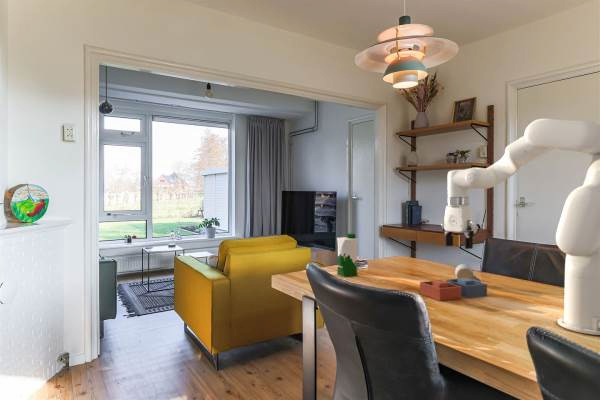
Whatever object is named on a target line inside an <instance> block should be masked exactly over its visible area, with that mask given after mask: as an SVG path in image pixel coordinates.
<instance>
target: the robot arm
mask: <svg viewBox="0 0 600 400" xmlns="http://www.w3.org/2000/svg"><path fill="white" fill-rule="evenodd" d="M523 134H524V135H522V136H521V137H519V138H517V139H516V140H515V141H512V142H511V143H510V144H508V145H506V146H505V148H504V153H503V156H502V157H501V158H500V159H499V160H497V161H496V162H495V163H493V164H491V165H490V166H488V167H486V168H483V167H470V168H465V169H452V170H449V171H448V172H447V200H446V202H447V205H446V207H445V211H444V219H443V220H444V222H442V223H441V224H440V227H441V229H442V232H443V235H444V236H445V247H453V246H454V235H453V234H454V233H463V235H464V236H465V237H464V249H465V250H472V249H473V247H474V243H473V241H474V240H473V239H474V238H475V236H476V234H477V231H478V229H479V226H478V225H476V224H475V223H474V222H473V215H472V209H471V205H470V189H477V190H479V189H483V190H486V189H491V188H494V187H496V186H497V185H499V184H501V183H503V182H505V181H506V180H508V179H510V178H511V177H513V176H514V175H515V174H516V173H517V172H518V171H520V170H521V169H522V168H523V167H525V166H527V165H528V164H530V163H531V162H533V161H535V160H537V159H539V158H540V157H542V156H544V155H545V154H548V153H550V151H553V150H554V149H556V150H563V151H571V152H573V151H574V152H579V153H583V154H588V155H590V156H591V162H590V164H589V166H588V168H587V171H586V175H585V178H584V181H583V184H582V186H579V187H577V188H575V189H574V190H572V191H570V193H569V195H568V196H567V197H566V200H565V202H564V206H563V208H562V212H561V216H560V219H559V221H558V224H557V229H556V231H555V243H556V245H557V247H558V249H559V250H560V251H561V252H563V253H564V254H565V260H564V261H565V262H564V293H563V295H564V297H563V298H564V299H563V301H564V302H563V317H559V318H557V324H558V325H559V327H562V328H564V329H567V330H569V331H572V332H576V333H581V334H585V335H592V336H600V124H599V123H597V122H594V121H589V120H576V119H575V120H573V119H558V118H557V119H555V118H538V119H535V120H533V121H532V122H530V123H529V124H528V125H527V126H526V128H525V130H524V133H523Z"/></svg>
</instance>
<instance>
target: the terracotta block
mask: <svg viewBox="0 0 600 400" xmlns="http://www.w3.org/2000/svg"><path fill="white" fill-rule="evenodd" d="M431 281H432V286H435V287H438V288H448V287H449V283H448V282H446V280H441V279H439V280H437V279H436V280H431Z"/></svg>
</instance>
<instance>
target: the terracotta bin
mask: <svg viewBox="0 0 600 400" xmlns="http://www.w3.org/2000/svg"><path fill="white" fill-rule="evenodd" d="M432 281H433V280H427V281H420V282H419V294H421V295H424V296H425V297H426V296H427V297H429V298H430V299H431V298H432V299H434V300H436V301H439V302H441V301H450V300H451V301H452V300H460V299H462V296H461V286H457V285H454V284H451V283H449V287H448V288H438V287H435V286H432Z"/></svg>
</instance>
